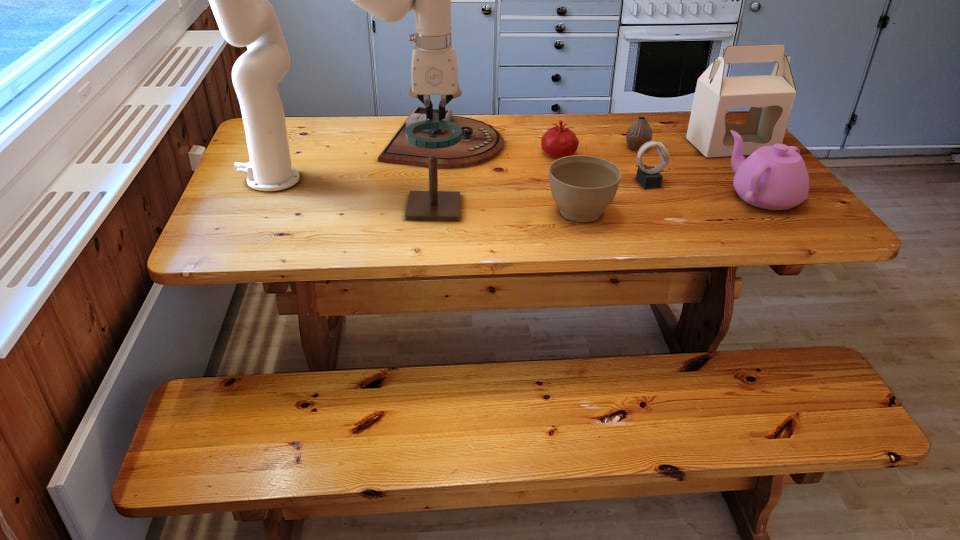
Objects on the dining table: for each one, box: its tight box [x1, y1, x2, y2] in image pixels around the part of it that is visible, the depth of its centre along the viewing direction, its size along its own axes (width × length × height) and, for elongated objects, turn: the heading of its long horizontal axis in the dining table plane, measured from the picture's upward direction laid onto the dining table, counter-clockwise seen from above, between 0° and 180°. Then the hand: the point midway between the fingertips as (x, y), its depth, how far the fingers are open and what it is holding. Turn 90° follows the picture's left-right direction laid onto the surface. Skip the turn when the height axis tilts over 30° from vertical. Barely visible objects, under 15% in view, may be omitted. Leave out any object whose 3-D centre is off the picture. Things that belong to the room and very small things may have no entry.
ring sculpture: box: [635, 140, 671, 190], centre depth 175 cm, size 6×8×11 cm
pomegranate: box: [540, 119, 580, 159], centre depth 189 cm, size 10×10×9 cm
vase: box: [625, 115, 653, 152], centre depth 193 cm, size 7×7×9 cm
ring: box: [405, 114, 462, 149], centre depth 156 cm, size 12×16×2 cm
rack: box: [404, 155, 461, 222], centre depth 162 cm, size 12×12×13 cm
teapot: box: [730, 130, 810, 211], centre depth 171 cm, size 22×22×14 cm
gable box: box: [685, 43, 797, 159], centre depth 191 cm, size 22×13×28 cm, turn 101°
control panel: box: [377, 105, 504, 170], centre depth 194 cm, size 31×5×30 cm
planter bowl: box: [548, 154, 622, 223], centre depth 162 cm, size 16×16×11 cm
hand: (436, 121), depth 162 cm, fingers closed on ring
